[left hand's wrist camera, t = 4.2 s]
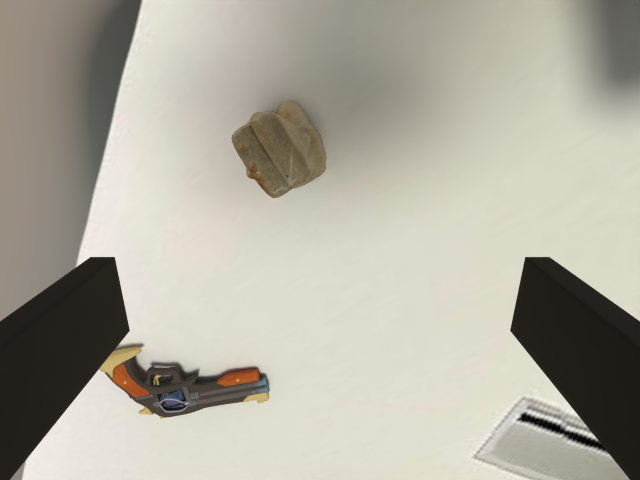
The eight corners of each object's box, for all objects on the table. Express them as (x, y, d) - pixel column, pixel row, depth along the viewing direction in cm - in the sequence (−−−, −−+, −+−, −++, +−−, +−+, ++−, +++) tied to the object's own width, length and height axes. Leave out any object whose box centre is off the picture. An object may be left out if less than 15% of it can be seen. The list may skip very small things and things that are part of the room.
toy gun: (89, 361, 44) (115, 434, 47) (253, 332, 44) (270, 406, 47) (101, 349, 47) (125, 419, 49) (255, 322, 47) (272, 392, 49)
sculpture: (303, 91, 36) (293, 90, 22) (336, 161, 39) (346, 199, 25) (249, 120, 37) (207, 136, 23) (285, 186, 39) (265, 237, 25)
